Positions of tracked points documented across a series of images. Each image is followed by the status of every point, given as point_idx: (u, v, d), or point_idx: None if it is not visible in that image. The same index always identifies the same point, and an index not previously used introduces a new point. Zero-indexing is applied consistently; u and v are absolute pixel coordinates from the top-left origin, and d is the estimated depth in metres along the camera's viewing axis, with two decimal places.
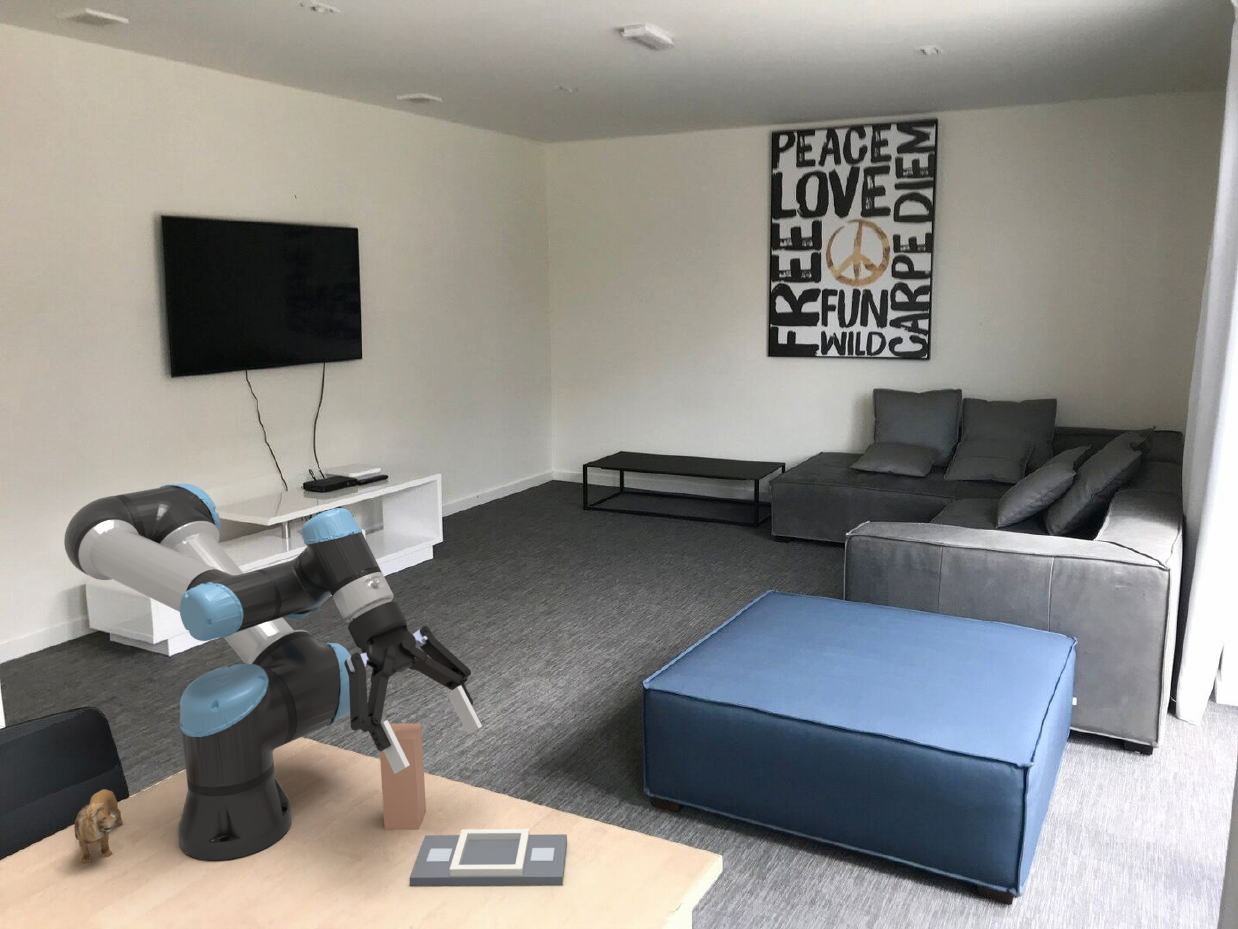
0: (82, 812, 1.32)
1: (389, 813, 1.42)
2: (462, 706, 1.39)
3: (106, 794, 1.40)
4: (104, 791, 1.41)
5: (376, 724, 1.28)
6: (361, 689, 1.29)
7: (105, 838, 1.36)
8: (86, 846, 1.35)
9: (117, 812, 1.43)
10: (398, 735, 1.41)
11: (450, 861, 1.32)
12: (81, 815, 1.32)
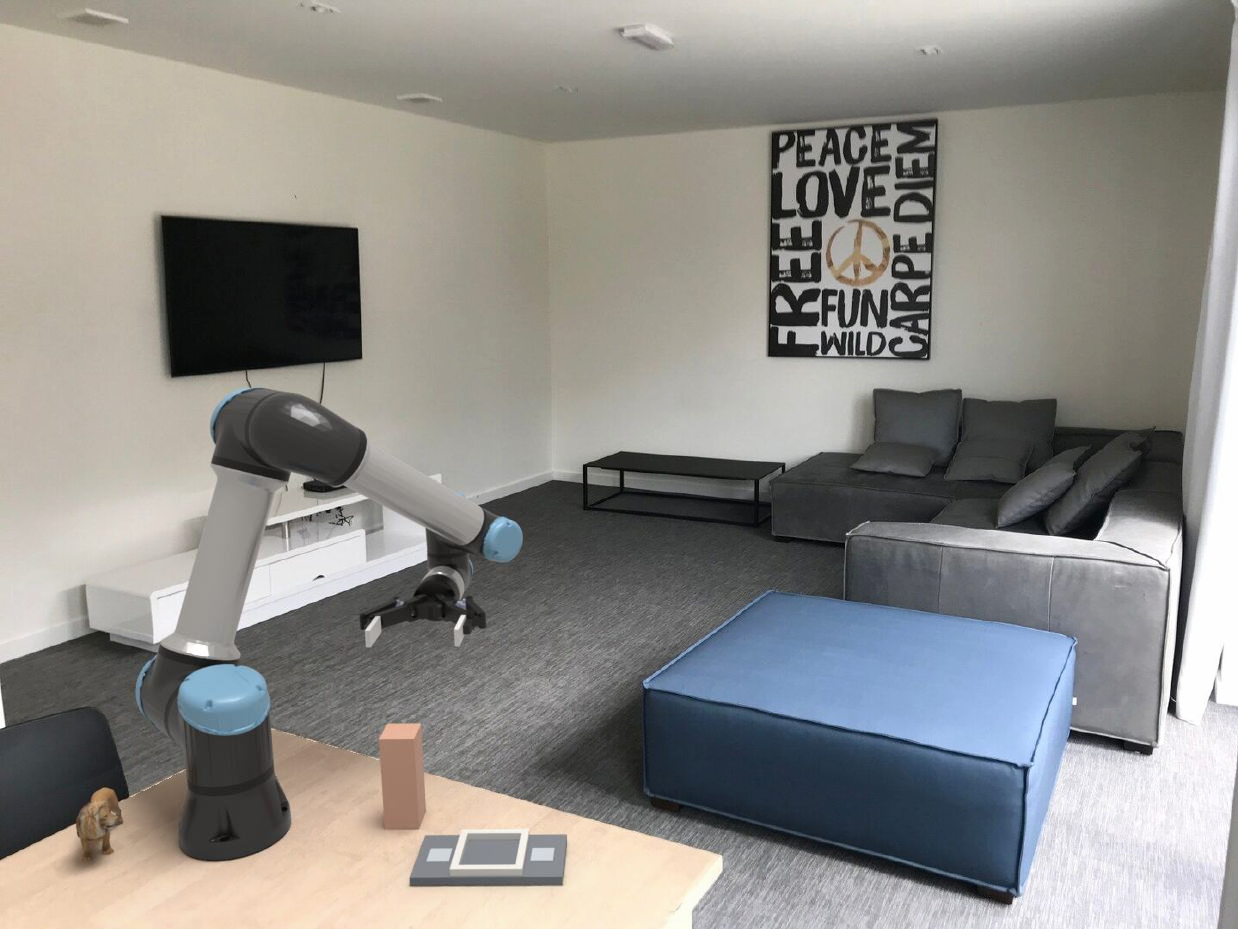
0: (84, 810, 1.33)
1: (389, 813, 1.42)
2: (376, 632, 1.54)
3: (107, 793, 1.41)
4: (105, 789, 1.42)
5: None
6: None
7: (106, 836, 1.37)
8: (88, 844, 1.36)
9: (118, 810, 1.43)
10: (398, 735, 1.41)
11: (450, 861, 1.32)
12: (83, 813, 1.33)
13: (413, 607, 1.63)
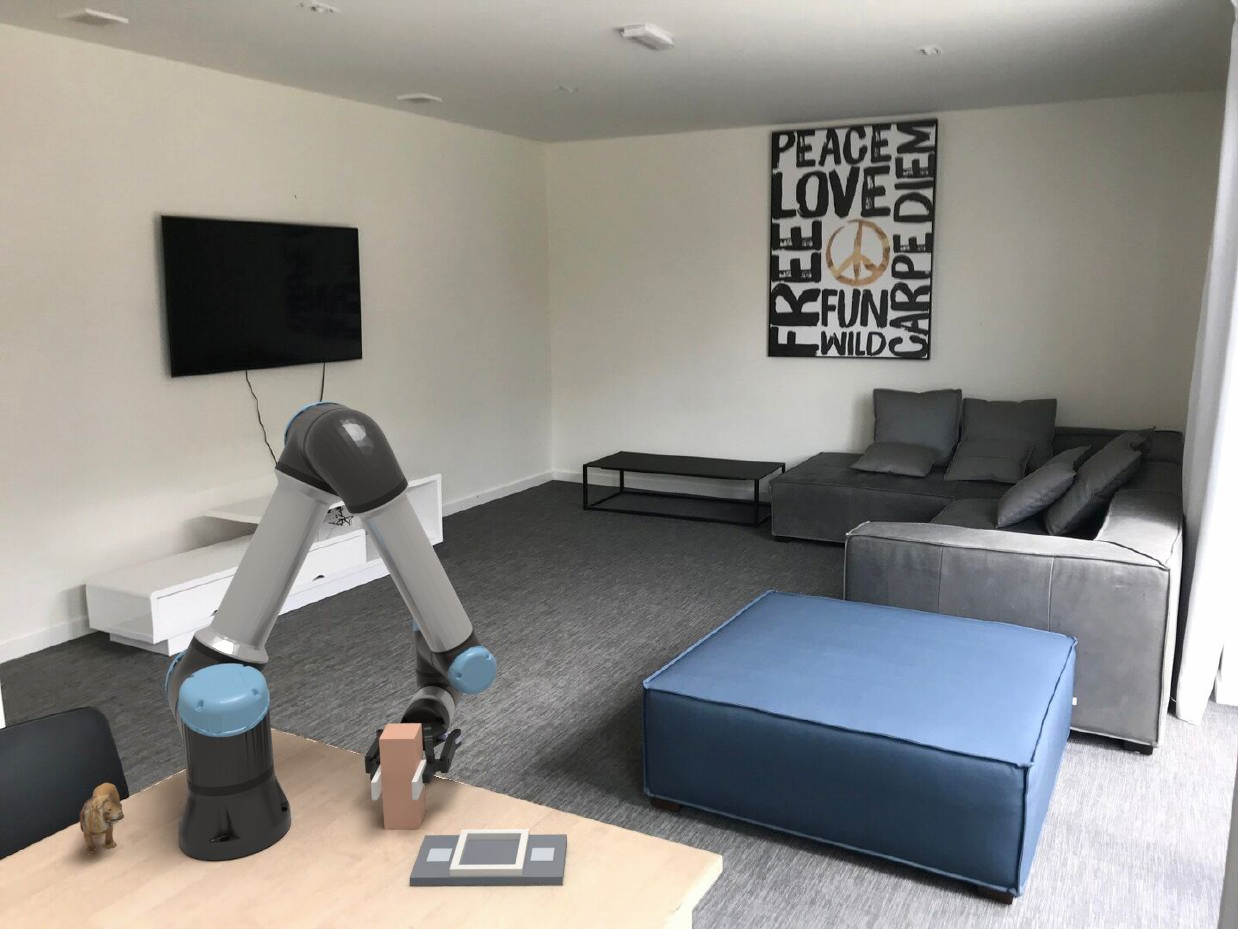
0: (88, 804, 1.34)
1: (389, 813, 1.42)
2: None
3: (108, 787, 1.42)
4: (106, 784, 1.43)
5: None
6: None
7: (110, 830, 1.38)
8: (91, 838, 1.37)
9: (119, 805, 1.45)
10: (398, 735, 1.41)
11: (450, 861, 1.32)
12: (87, 807, 1.34)
13: None
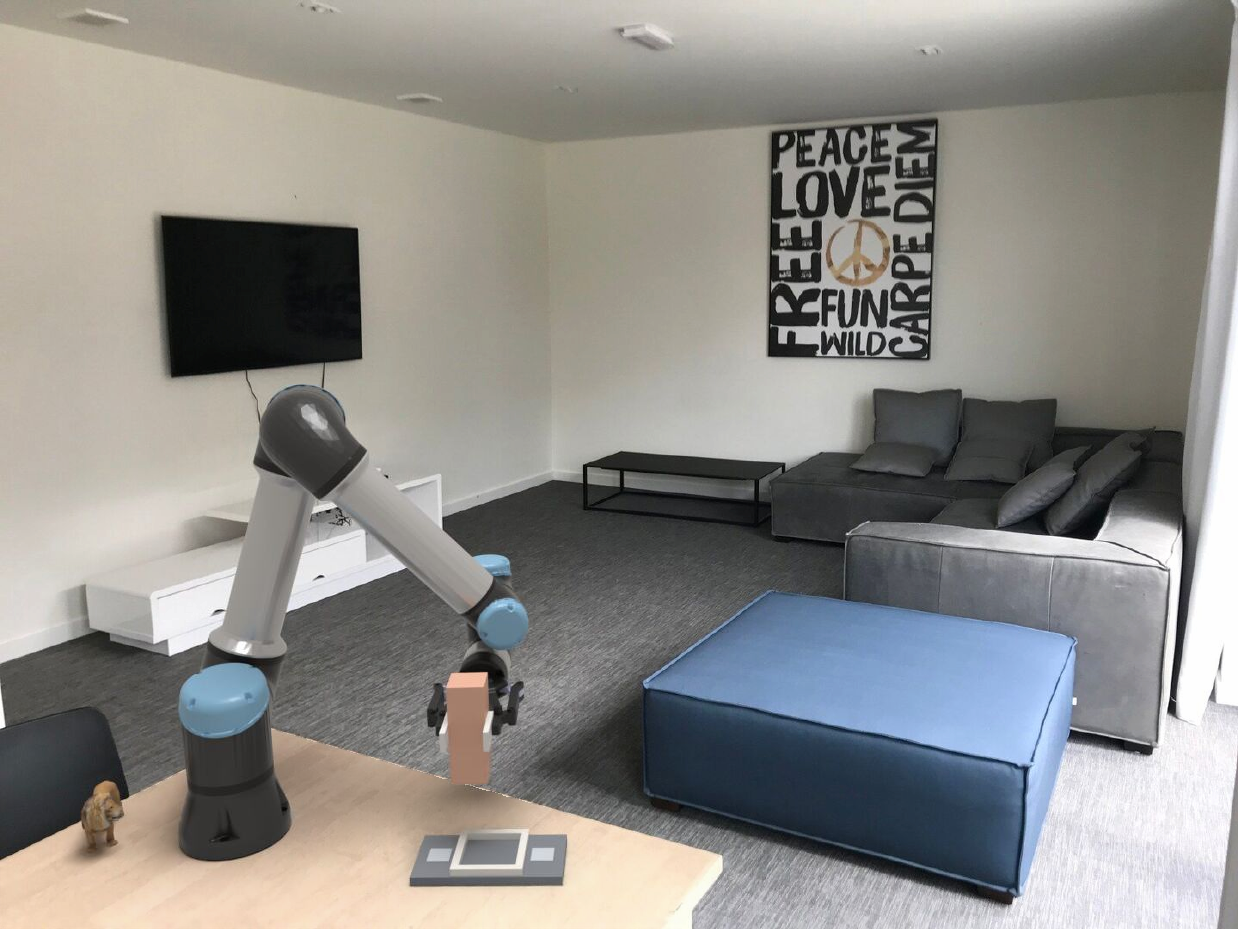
0: (89, 802, 1.35)
1: (456, 768, 1.33)
2: None
3: (109, 785, 1.43)
4: (107, 782, 1.44)
5: None
6: None
7: (111, 827, 1.39)
8: (92, 836, 1.38)
9: (119, 803, 1.45)
10: (465, 684, 1.32)
11: (450, 861, 1.32)
12: (89, 805, 1.35)
13: None
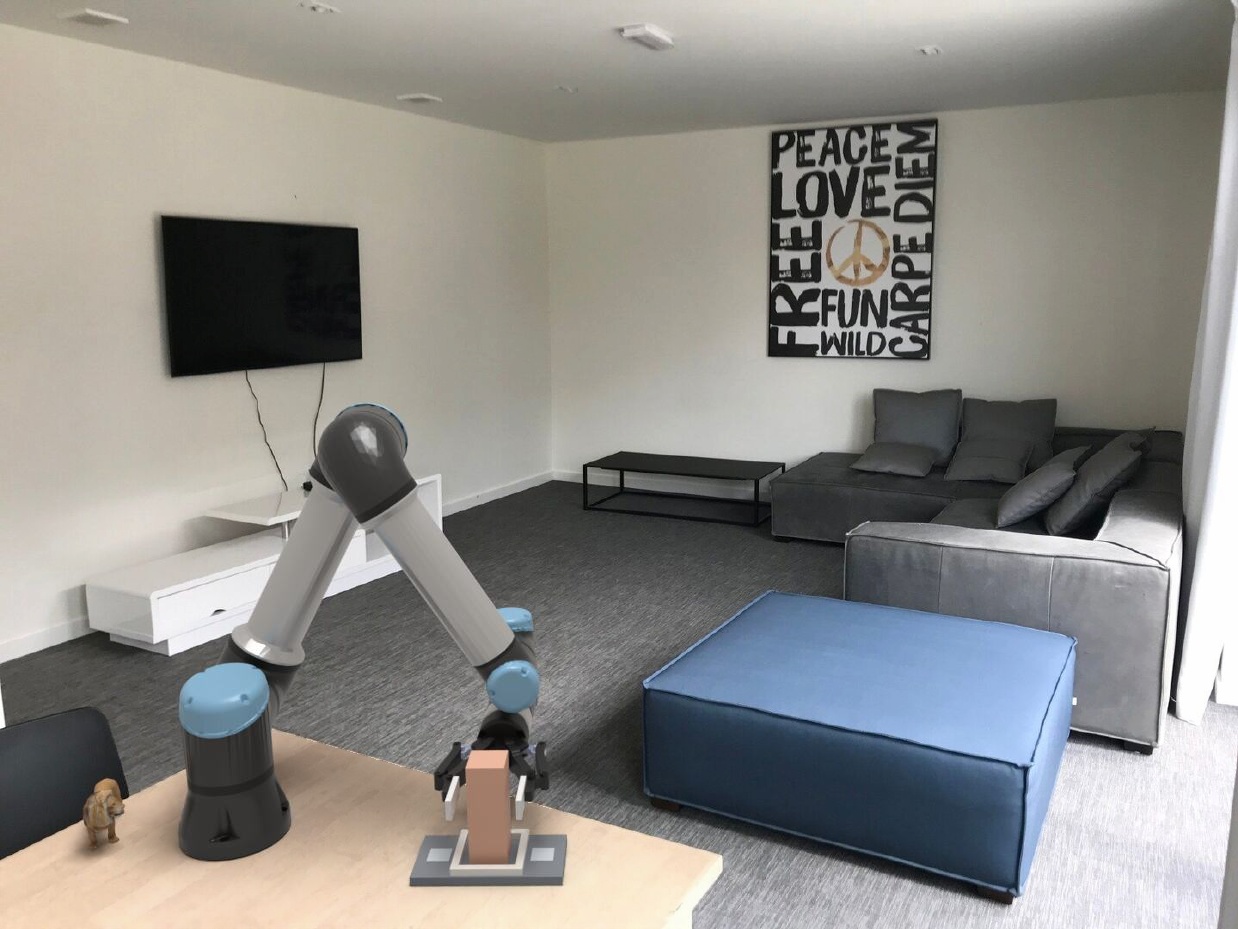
0: (92, 799, 1.36)
1: (475, 849, 1.31)
2: (456, 798, 1.31)
3: (110, 783, 1.44)
4: (107, 780, 1.44)
5: None
6: None
7: (112, 824, 1.40)
8: (94, 833, 1.39)
9: (120, 800, 1.46)
10: (485, 764, 1.30)
11: (450, 861, 1.32)
12: (91, 802, 1.35)
13: None
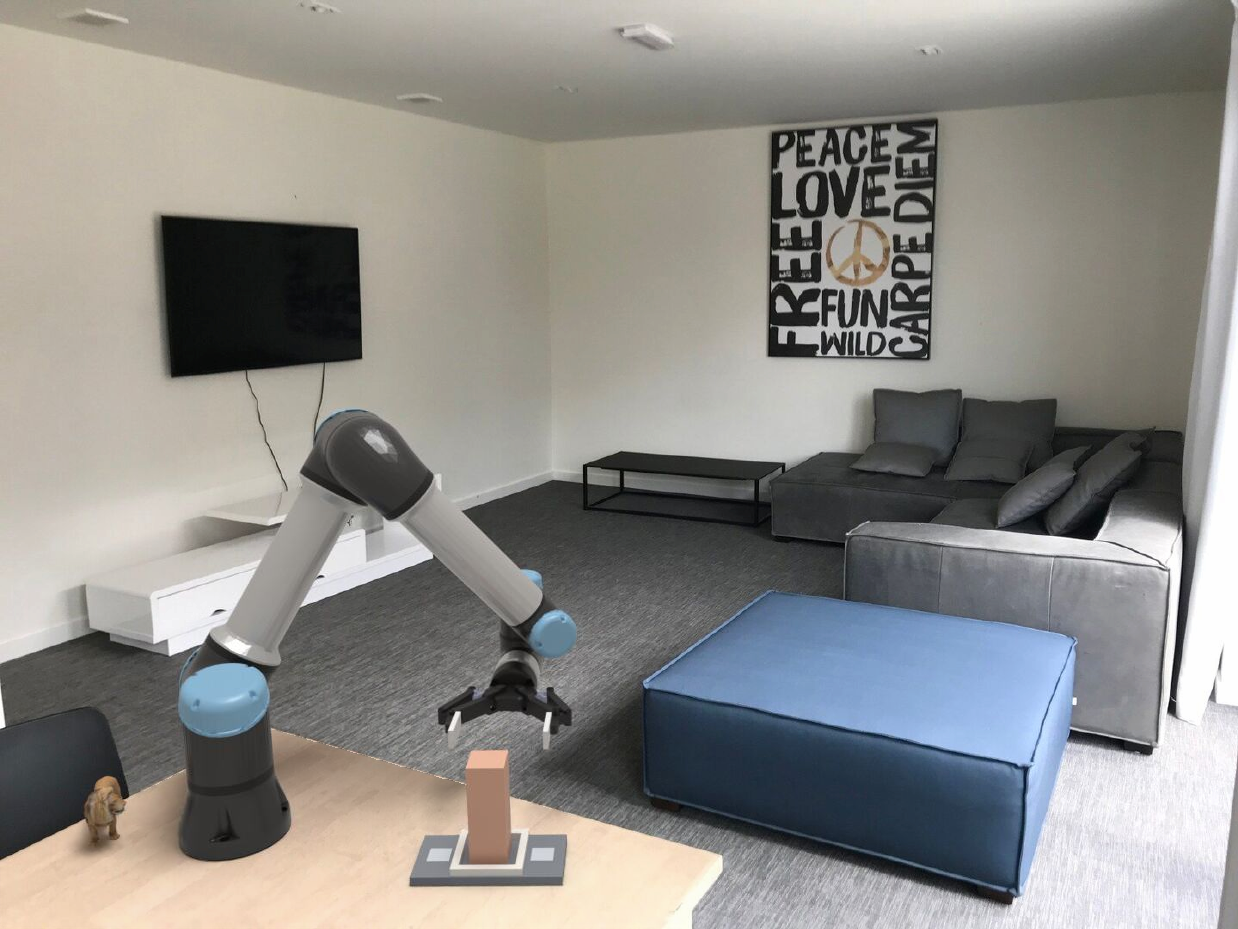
0: (93, 796, 1.36)
1: (475, 849, 1.31)
2: (457, 730, 1.45)
3: (110, 780, 1.44)
4: (108, 777, 1.45)
5: None
6: None
7: (113, 821, 1.40)
8: (95, 830, 1.39)
9: (120, 798, 1.47)
10: (485, 764, 1.30)
11: (450, 861, 1.32)
12: (92, 799, 1.36)
13: (492, 699, 1.53)
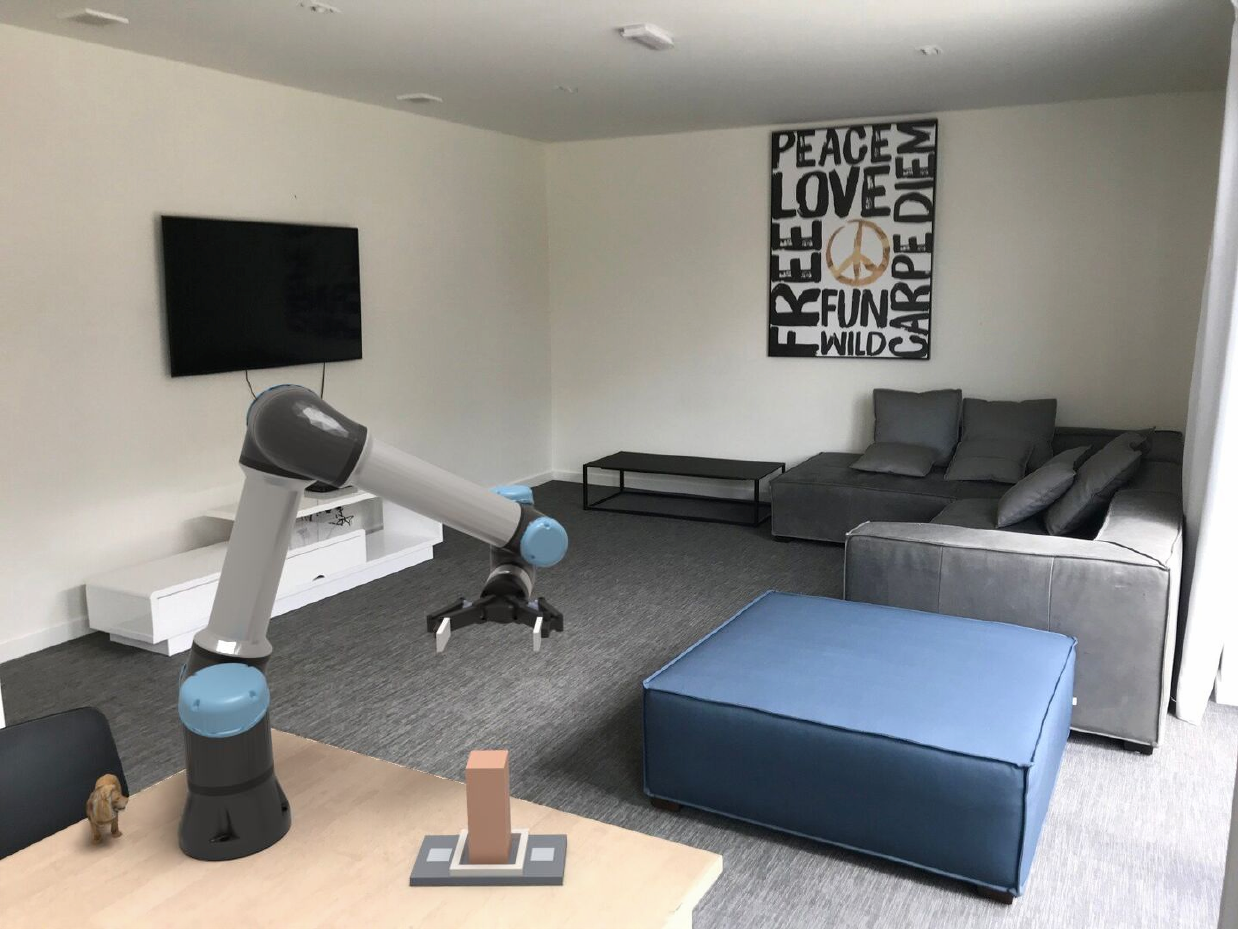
0: (96, 793, 1.37)
1: (475, 849, 1.31)
2: (446, 636, 1.42)
3: (111, 778, 1.45)
4: (108, 775, 1.46)
5: None
6: None
7: (115, 819, 1.41)
8: (97, 827, 1.40)
9: None
10: (485, 764, 1.30)
11: (450, 861, 1.32)
12: (95, 796, 1.37)
13: (482, 608, 1.50)
